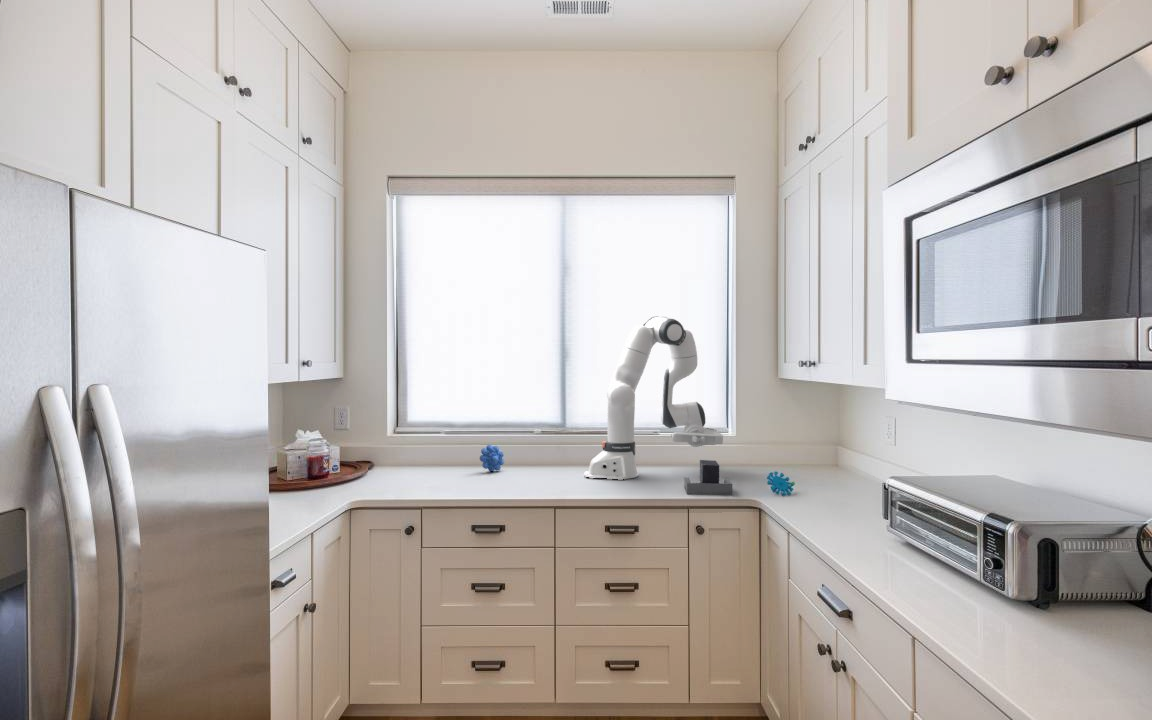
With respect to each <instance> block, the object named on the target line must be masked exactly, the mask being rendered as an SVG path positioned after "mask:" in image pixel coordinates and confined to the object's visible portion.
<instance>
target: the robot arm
mask: <svg viewBox="0 0 1152 720" xmlns="http://www.w3.org/2000/svg"><path fill="white" fill-rule="evenodd" d="M657 343H659V344H664V345H668V347H669V350H670V359H671V361H670V365H669V366H668V368H667V369H666V370H665V371H664V377H663V389H662V390H663V391H662V403H661V405H662V406H661V410H660V421H661V423H662V425H663V426H665V427H666V428H668V429H673V428H677V427H683V429H682V431H673V433H672V434H671V435H670V436H671V437H672V441H673V442H675V443H687V444H688V445H690V446H691V447H693V448H694V447H695V448H699V447H703V446H716V445H723V443H724V435H723V434H722V433H721V432H719V431H718V430H717V429H715V428H709V427H705V425H706V414H705V410H704V408H703V406H702V405H701V404H700V403H699V402H698V401H691V402H685V403H684V402H683V403H676V404H674V403H673V395H674V394H673V390H674V387H675V385H677V383H678V382H680V381H682V380H684V379H685V378H687V377H689V376H691V375H692V374H693V373H695V371H696V369H697V367H698V351H697V346H696V342H695V338H694V335H693V333H692V332H691V331H690V330H688V329H685V328H684V326H683V325H682V323H681V322H680V321H679V320H677V319H674V318H669V317H667V316H659V315H658V316H652V317H650V318H648V319H647V320H646V321H645V323H643V324H642V325H641V324H639V325H635V326H634V327H633V328H632V330H631V331H630V334H629V335H628V337H627V339H626V342H625V343H624V347H623V349H622V352H621V354H620V358H619V360H618V363H617V365H616V368H615V370H614V372H613V374H612V378H611V380H610V383H609V385H608V388H607V391H606V398H607V422H606V423H607V441H606V440H603V441H602V442H601V445H602V451H600V452H599V453H598V454H597V455H595V456H594V457H593V458H592V459H591V460H590V462H589V468H588V470H586V471H584V473H583V476H584V475H585V476H587V477H595V478H607V479H606V480H612V479H618V481H624V480H628V479H634V478H637V477H638V476H639V472H638V469H637V464H636V449H637V448H636V442H635V409H636V407H635V406H636V393H635V392H636V390H637V387H638V385H639V383H640V380H641V378H642V376H643V375H644V374H643V373H644V371H645V368H646V365H647V362H648V361H649V358H650V354H651V351H652V349H653V348H654V345H655V344H657ZM623 479H624V480H623Z"/></svg>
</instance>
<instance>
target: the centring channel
mask: <svg viewBox="0 0 1152 720" xmlns="http://www.w3.org/2000/svg"><path fill="white" fill-rule="evenodd" d="M683 480H684V481H683V482H684V483H683V484H684V486H683V487H684V490H685V493H686V495H698V496H699V495H700V496H701V495H702V496H703V495H704V496H705V495H709V496H710V495H711V496H712V495H713V496H714V495H715V496H733V483H732V481H731V480H730V478H728V477H723V482H719V483H700V482H691V480H690V478H689V477H683Z"/></svg>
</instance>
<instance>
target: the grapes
mask: <svg viewBox="0 0 1152 720" xmlns="http://www.w3.org/2000/svg"><path fill="white" fill-rule="evenodd" d="M480 451H481V455H480V456H479V460H480V462H482V468H483V469H484V470H485V469H487V470H488V471H489V472H490V471H494V472H495V471H497V470H499V471H500V470H501V468H502V467H501V466H503V465H504V464H505V460H504V459H503V457H504V455H505V454H504V452H503V451H501V450H500V447H499V446H498V445H491V444H487V445H486V448H485V447H484V448H481V450H480Z"/></svg>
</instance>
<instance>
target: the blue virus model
mask: <svg viewBox="0 0 1152 720" xmlns="http://www.w3.org/2000/svg"><path fill="white" fill-rule="evenodd" d="M778 474H779V471H776V470H775V471H774V472H772V471H769V473H768V475H767V477H766V480H767V482H766V484H767V485H770V488H769V489H770V490H771V491H772V493H775V494H776V495H780V493H781V492H782V493H781V496H783V497H785V496H790V495H792V492H793V490H794V486H795V485H796V483H795V481H792V482H790V480H791V479H790V478H789V476H786V477H784V476H785V474H784V473H783V472H781V473H780V474H779V476H778ZM785 491H786V492H785Z"/></svg>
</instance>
